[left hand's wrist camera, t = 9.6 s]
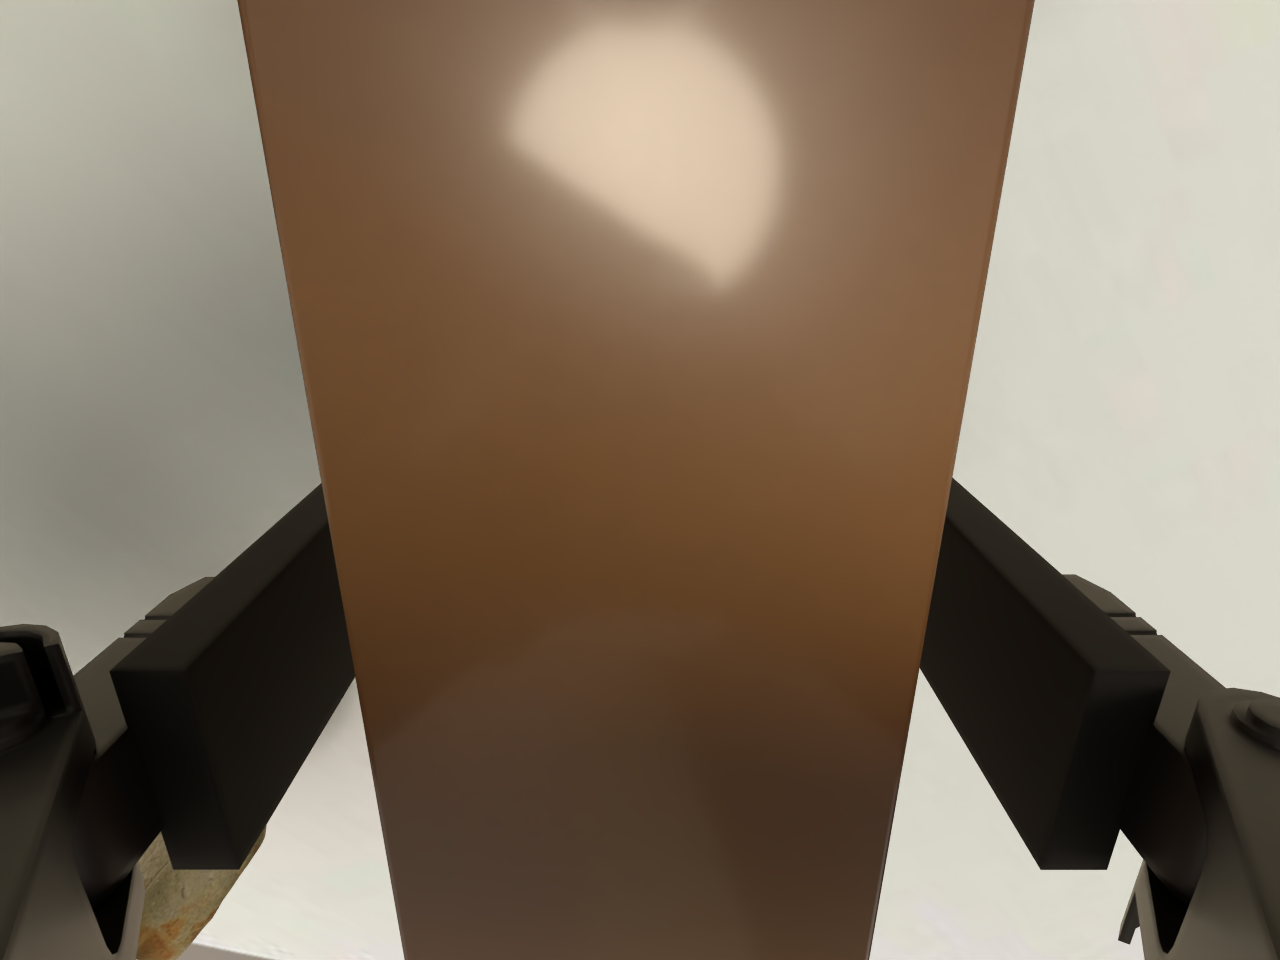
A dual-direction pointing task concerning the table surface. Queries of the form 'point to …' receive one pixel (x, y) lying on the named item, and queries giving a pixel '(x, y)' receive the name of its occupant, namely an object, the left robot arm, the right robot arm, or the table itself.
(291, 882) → the table surface
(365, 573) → the bar
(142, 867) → the sculpture
